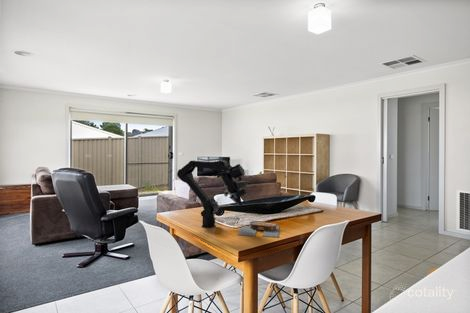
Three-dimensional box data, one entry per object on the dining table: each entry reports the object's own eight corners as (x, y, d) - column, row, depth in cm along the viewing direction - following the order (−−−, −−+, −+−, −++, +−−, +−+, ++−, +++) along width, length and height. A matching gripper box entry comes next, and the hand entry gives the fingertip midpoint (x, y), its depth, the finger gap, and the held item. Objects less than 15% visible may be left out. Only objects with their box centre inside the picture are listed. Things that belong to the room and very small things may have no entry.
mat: (237, 235, 145) (237, 234, 145) (242, 224, 164) (242, 224, 164) (278, 237, 141) (278, 236, 141) (279, 226, 161) (279, 225, 161)
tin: (247, 223, 155) (253, 219, 163) (247, 229, 155) (253, 224, 163) (274, 227, 149) (278, 222, 157) (274, 232, 149) (278, 227, 157)
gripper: (247, 174, 151) (259, 199, 153) (233, 174, 168) (245, 197, 170) (230, 184, 147) (243, 210, 149) (218, 184, 164) (230, 207, 166)
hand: (240, 205), depth 158 cm, fingers closed
